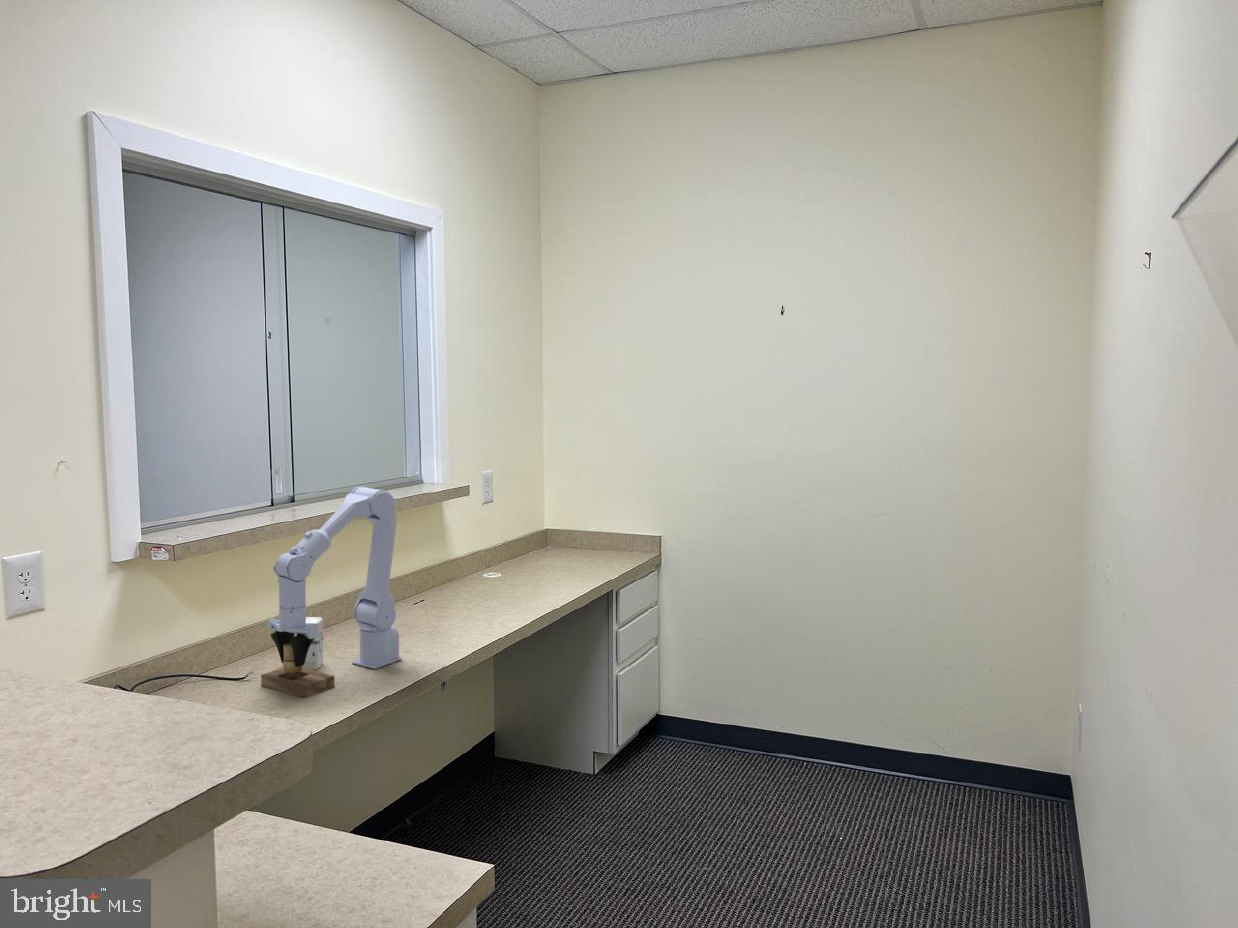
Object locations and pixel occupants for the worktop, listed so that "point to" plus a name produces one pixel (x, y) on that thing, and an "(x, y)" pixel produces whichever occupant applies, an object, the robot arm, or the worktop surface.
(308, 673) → the board
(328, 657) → the worktop surface
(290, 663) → the peg
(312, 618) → the ink box
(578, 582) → the worktop surface
